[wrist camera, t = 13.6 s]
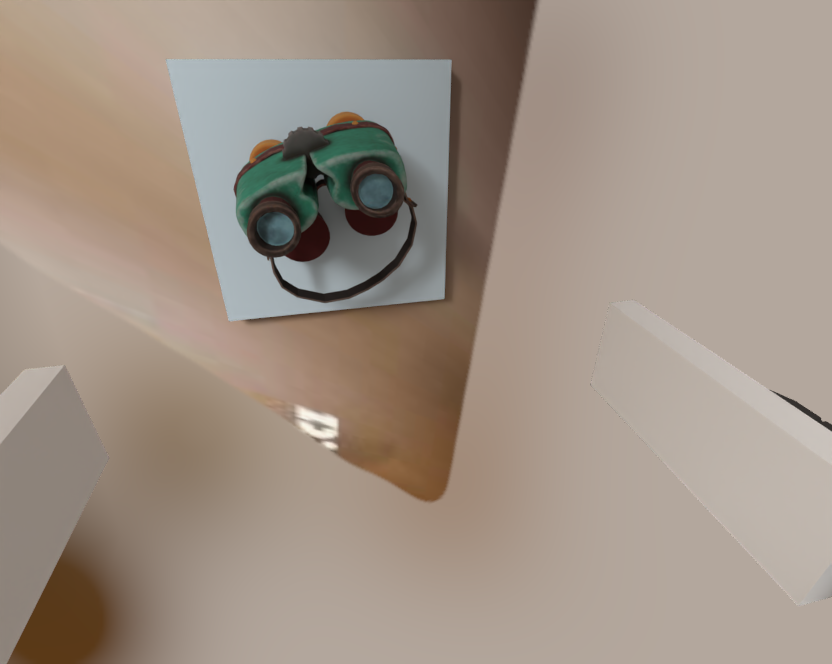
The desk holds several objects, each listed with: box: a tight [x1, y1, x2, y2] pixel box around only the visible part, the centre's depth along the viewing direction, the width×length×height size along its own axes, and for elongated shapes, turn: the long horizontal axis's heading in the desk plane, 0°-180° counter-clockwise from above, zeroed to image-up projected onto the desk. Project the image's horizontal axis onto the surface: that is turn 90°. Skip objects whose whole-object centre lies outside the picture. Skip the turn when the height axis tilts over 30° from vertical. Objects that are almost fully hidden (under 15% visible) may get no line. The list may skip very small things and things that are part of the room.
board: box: [166, 59, 452, 321], centre depth 28 cm, size 15×15×2 cm
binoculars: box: [234, 112, 418, 303], centre depth 23 cm, size 9×11×10 cm
